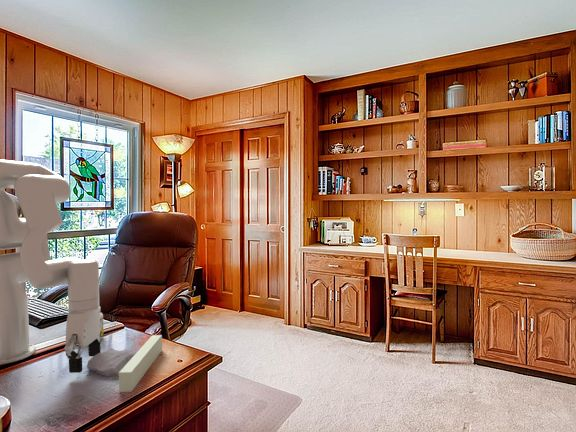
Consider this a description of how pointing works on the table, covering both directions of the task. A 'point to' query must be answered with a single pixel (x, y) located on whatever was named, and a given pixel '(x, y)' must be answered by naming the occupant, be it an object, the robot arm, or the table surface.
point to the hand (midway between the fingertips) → (85, 363)
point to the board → (139, 364)
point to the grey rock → (110, 361)
